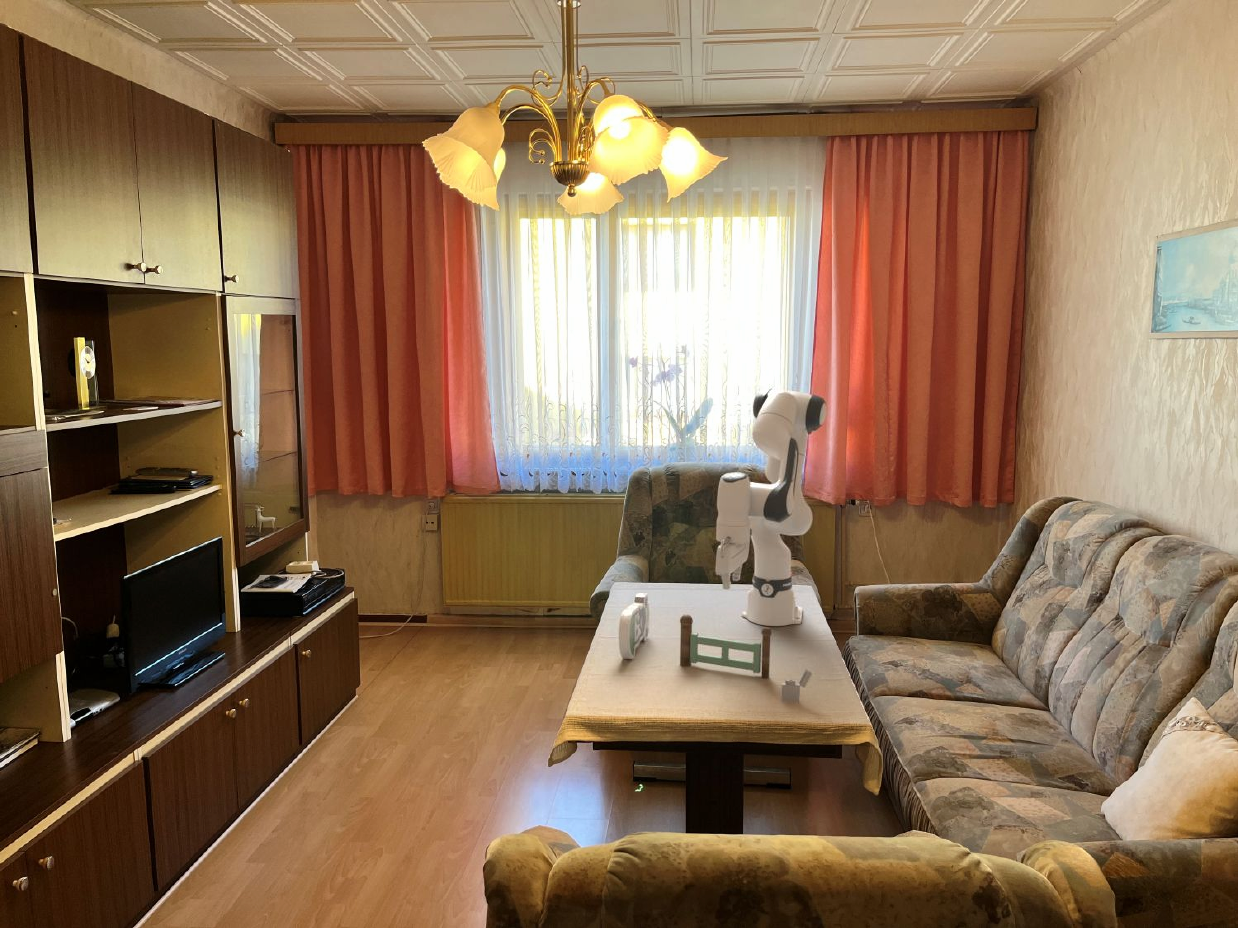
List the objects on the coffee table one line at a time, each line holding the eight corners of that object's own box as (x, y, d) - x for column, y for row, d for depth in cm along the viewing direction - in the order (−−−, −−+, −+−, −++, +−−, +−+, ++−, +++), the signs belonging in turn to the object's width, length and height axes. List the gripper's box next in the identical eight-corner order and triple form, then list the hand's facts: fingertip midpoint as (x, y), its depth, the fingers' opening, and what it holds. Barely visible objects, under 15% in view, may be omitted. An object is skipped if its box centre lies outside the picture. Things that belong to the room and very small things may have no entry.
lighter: (782, 701, 227) (783, 670, 226) (781, 699, 228) (782, 667, 227) (811, 702, 226) (812, 671, 225) (810, 699, 228) (811, 668, 227)
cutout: (641, 590, 274) (619, 608, 250) (650, 591, 273) (629, 609, 249) (639, 640, 275) (618, 663, 251) (648, 641, 274) (627, 664, 250)
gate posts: (681, 661, 254) (682, 612, 252) (771, 675, 244) (773, 624, 242) (677, 665, 251) (678, 615, 249) (768, 680, 241) (769, 628, 239)
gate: (691, 660, 251) (692, 632, 250) (760, 671, 244) (761, 642, 243) (689, 662, 250) (690, 634, 249) (758, 673, 242) (759, 644, 241)
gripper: (734, 542, 237) (732, 595, 239) (753, 528, 256) (752, 577, 258) (710, 540, 240) (708, 592, 242) (731, 526, 258) (730, 574, 260)
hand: (731, 584), depth 250 cm, fingers open, 8 cm apart
